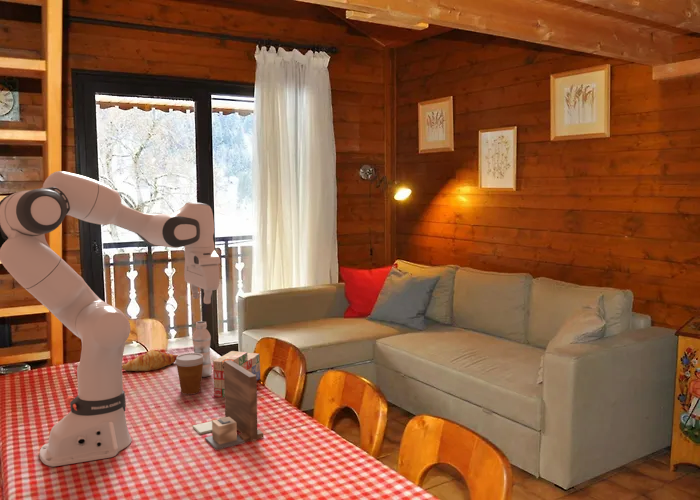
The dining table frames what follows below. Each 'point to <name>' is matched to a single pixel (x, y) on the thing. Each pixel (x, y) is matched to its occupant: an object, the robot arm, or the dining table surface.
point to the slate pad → (224, 445)
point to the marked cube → (224, 430)
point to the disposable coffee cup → (190, 372)
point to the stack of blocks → (241, 358)
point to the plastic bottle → (203, 346)
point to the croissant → (150, 361)
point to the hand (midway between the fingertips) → (201, 300)
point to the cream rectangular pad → (203, 427)
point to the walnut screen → (241, 400)
